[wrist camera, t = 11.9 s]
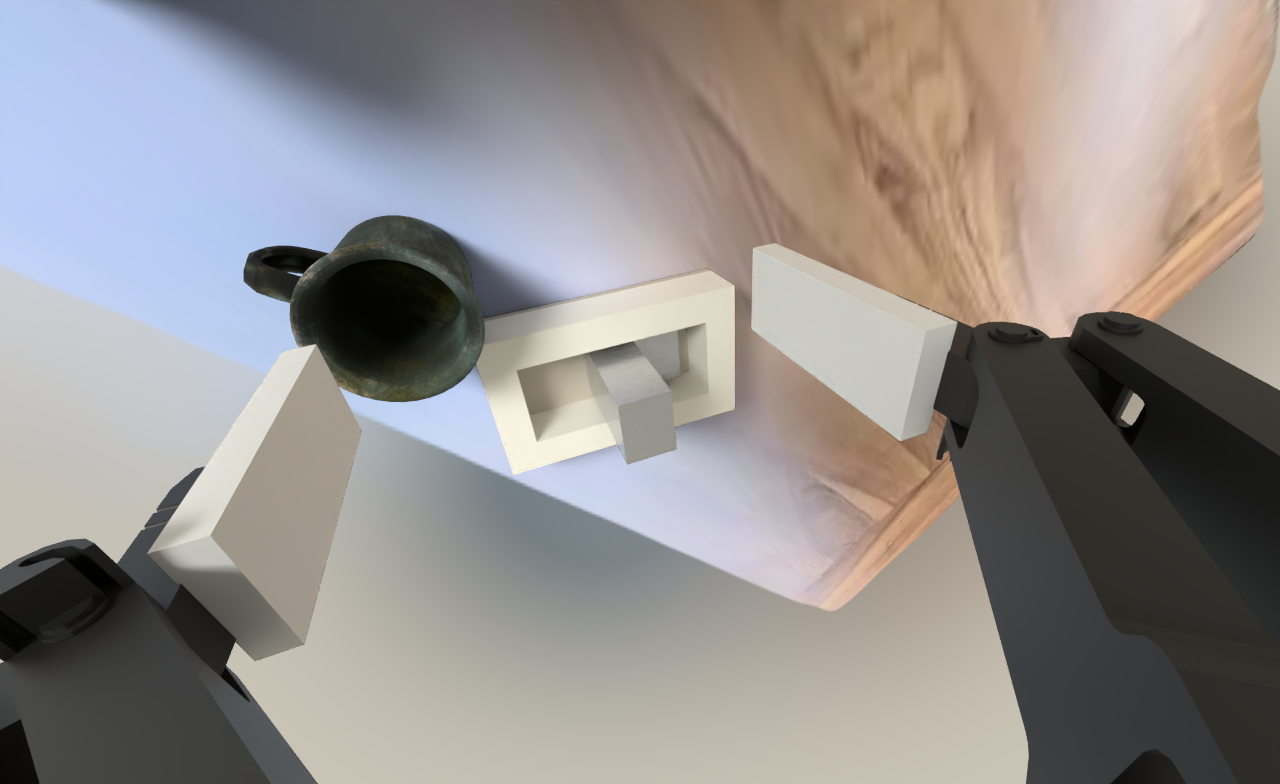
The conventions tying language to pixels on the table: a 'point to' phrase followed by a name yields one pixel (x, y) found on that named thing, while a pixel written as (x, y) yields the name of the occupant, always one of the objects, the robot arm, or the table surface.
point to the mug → (380, 307)
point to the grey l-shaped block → (637, 393)
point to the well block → (563, 331)
